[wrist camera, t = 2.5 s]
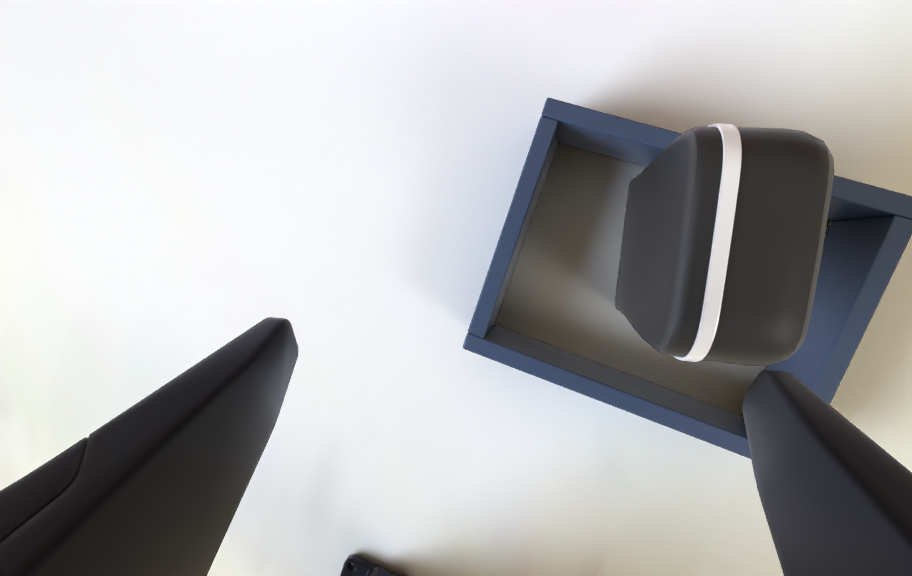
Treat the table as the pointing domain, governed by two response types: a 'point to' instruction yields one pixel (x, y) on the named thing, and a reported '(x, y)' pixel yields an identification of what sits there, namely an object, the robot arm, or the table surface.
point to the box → (815, 364)
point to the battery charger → (726, 244)
